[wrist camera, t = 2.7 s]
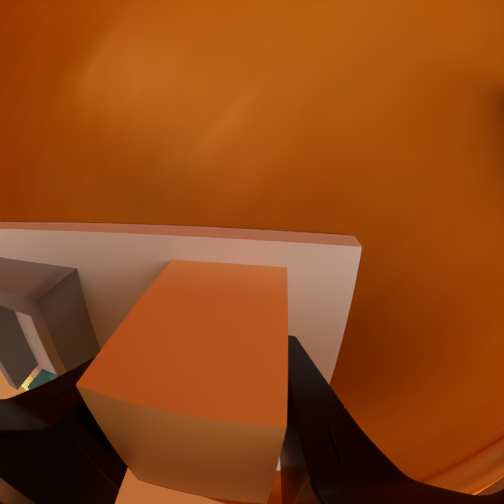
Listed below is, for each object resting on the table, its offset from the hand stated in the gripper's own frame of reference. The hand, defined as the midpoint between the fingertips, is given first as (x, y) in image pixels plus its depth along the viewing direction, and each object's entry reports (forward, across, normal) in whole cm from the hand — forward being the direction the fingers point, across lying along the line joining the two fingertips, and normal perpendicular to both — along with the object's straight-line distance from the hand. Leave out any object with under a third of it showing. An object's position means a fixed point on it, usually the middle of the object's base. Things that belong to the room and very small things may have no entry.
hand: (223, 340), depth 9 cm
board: (+2, +5, +4) cm, 7 cm away
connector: (+1, 0, +3) cm, 4 cm away
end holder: (+1, +10, +2) cm, 10 cm away
